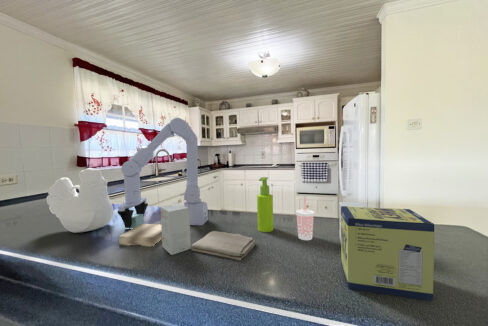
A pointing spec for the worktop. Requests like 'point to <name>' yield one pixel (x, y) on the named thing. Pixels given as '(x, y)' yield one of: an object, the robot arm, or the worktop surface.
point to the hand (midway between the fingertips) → (134, 223)
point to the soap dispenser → (265, 207)
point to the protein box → (387, 251)
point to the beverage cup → (305, 222)
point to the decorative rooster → (81, 202)
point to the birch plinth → (142, 235)
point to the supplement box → (349, 206)
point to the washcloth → (224, 245)
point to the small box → (175, 228)
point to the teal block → (137, 220)
